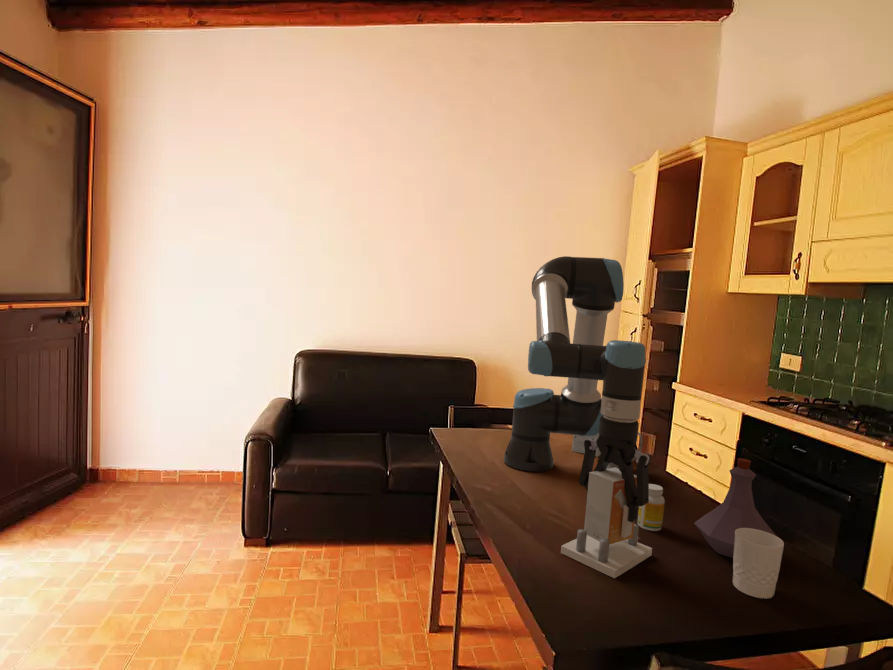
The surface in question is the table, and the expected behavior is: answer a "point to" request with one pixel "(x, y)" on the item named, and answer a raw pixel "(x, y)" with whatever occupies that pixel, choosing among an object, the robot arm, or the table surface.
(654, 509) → the supplement bottle
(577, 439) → the supplement box
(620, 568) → the pin tray
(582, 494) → the table surface
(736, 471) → the flask
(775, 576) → the white cup
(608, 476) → the small box
